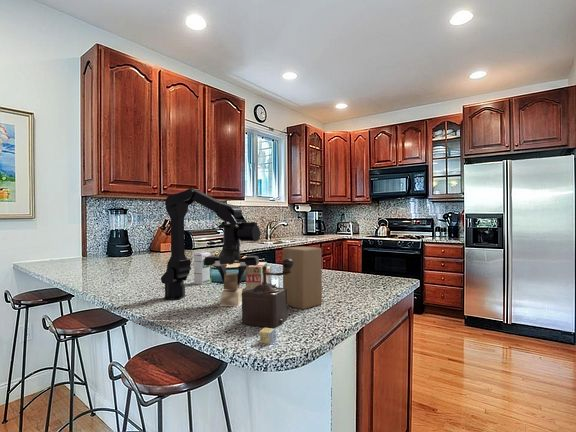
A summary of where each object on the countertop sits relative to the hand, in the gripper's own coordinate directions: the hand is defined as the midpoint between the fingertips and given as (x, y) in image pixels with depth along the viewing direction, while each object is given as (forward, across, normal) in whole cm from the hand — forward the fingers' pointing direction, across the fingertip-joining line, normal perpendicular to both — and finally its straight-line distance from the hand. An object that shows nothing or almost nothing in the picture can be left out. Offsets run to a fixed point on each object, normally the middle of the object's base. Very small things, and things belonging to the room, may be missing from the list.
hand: (231, 284), depth 120 cm
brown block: (+1, 0, 0) cm, 1 cm away
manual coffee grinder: (+7, +16, -16) cm, 24 cm away
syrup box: (+7, -24, +38) cm, 45 cm away
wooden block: (+7, +25, +2) cm, 26 cm away
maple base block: (+6, 0, 0) cm, 7 cm away
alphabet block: (+7, +18, -34) cm, 40 cm away
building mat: (+7, -1, -1) cm, 7 cm away
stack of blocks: (+7, +6, +21) cm, 23 cm away
